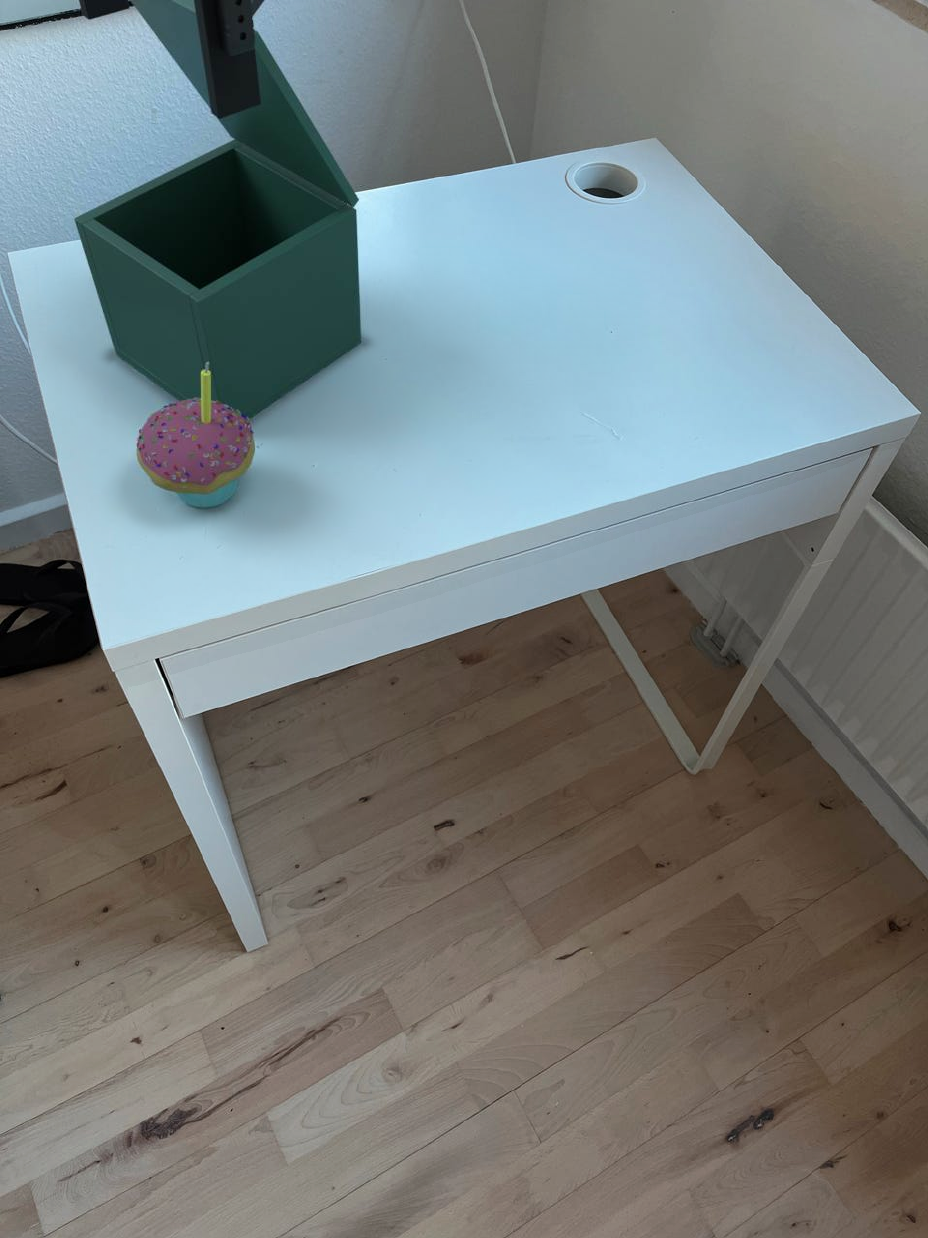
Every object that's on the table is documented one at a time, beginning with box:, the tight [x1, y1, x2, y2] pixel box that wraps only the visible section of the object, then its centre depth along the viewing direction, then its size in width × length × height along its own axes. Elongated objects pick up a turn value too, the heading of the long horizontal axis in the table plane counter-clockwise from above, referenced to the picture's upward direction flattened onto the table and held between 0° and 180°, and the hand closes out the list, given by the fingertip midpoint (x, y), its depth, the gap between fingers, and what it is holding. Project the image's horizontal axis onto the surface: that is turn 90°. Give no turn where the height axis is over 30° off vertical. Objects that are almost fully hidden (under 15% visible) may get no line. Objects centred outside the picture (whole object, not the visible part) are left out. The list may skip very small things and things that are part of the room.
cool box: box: [73, 138, 362, 420], centre depth 77 cm, size 16×14×13 cm
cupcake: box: [136, 362, 256, 509], centre depth 69 cm, size 9×8×12 cm
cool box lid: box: [129, 0, 360, 208], centre depth 67 cm, size 17×14×8 cm
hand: (168, 58), depth 54 cm, fingers open, 13 cm apart
